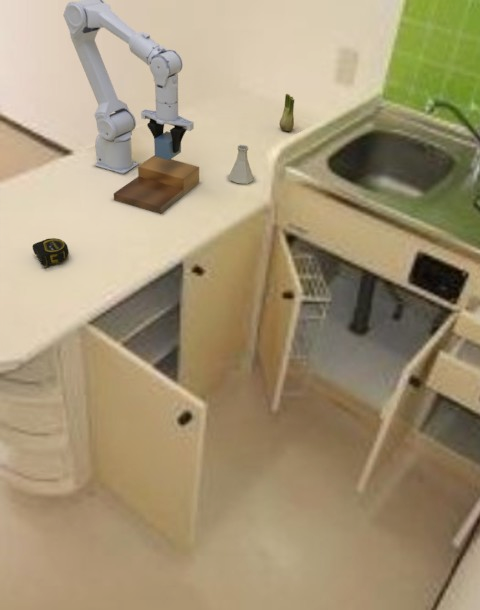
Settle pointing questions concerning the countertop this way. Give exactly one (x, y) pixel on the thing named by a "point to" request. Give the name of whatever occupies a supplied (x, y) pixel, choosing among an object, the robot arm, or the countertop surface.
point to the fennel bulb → (287, 114)
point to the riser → (159, 184)
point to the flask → (241, 167)
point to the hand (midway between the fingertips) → (167, 149)
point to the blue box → (165, 146)
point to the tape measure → (51, 251)
